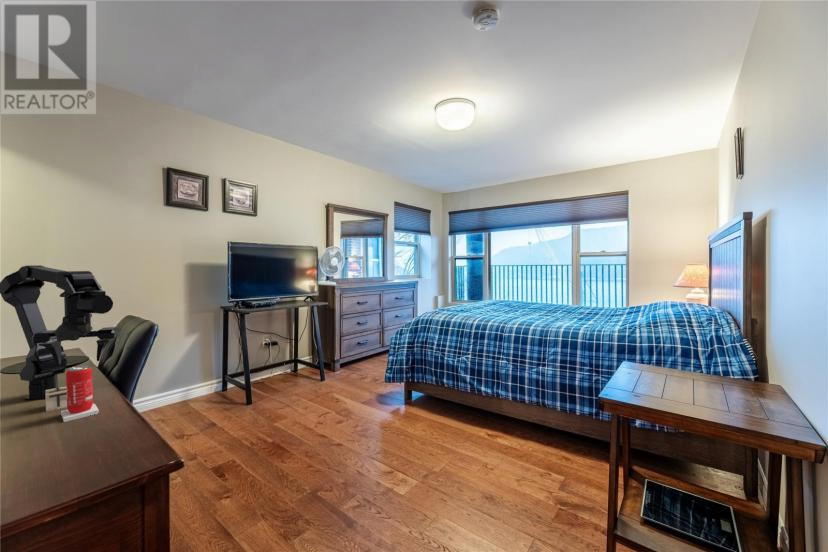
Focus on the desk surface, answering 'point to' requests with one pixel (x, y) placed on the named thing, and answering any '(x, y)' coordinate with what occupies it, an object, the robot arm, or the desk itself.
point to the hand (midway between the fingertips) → (79, 362)
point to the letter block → (56, 398)
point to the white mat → (78, 414)
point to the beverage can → (79, 389)
